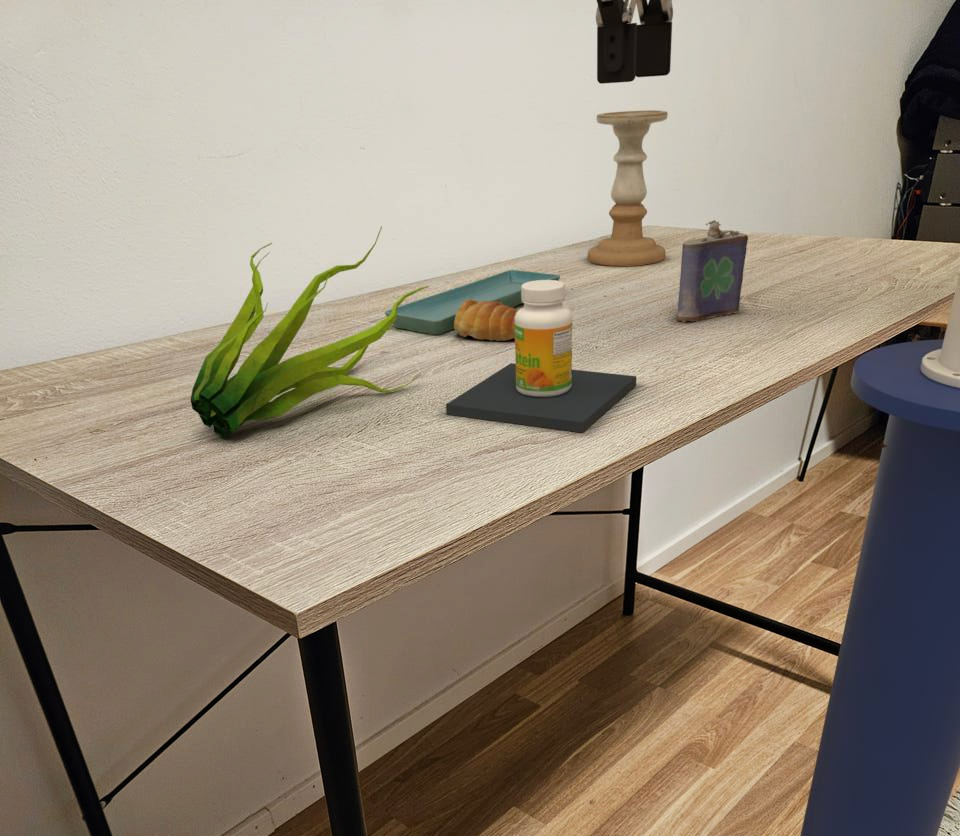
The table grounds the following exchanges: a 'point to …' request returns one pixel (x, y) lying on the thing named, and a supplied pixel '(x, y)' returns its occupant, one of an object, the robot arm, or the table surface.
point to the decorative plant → (276, 361)
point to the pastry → (485, 320)
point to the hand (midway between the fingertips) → (635, 79)
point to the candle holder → (628, 193)
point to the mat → (543, 400)
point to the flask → (711, 274)
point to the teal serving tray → (442, 307)
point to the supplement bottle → (543, 340)
